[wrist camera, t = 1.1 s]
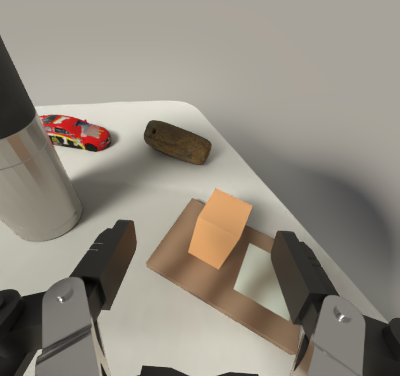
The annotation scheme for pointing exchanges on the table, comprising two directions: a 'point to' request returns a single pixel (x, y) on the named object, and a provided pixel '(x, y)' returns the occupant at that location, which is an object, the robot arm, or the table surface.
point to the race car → (75, 133)
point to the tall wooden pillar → (219, 228)
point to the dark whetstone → (177, 142)
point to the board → (230, 279)
